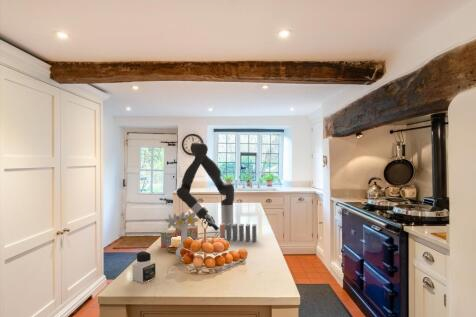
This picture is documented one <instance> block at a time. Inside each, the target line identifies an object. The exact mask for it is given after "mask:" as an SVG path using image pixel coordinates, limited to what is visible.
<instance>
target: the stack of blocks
mask: <svg viewBox="0 0 476 317" xmlns="http://www.w3.org/2000/svg"><path fill="white" fill-rule="evenodd" d="M198 230H199V228H198V225H195V226H194V227H192V226H191V224H188V226H187V237H189V236H190V237H191V238H192V239H193V240H196V239H198V238H199V237H198V236H199V234H198ZM177 236H181V230H179V228H178V226H177V227H176V228H175V229H164V230H162V231H161V232H160V248H167V249H169V248H168V247H169V246H170V245H171V238H172V237H177ZM198 240H199V239H198Z"/></svg>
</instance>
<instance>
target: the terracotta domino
mask: <svg viewBox="0 0 476 317" xmlns="http://www.w3.org/2000/svg"><path fill="white" fill-rule="evenodd" d="M220 238H225V239H226V228H225V223H222V224H219V239H220Z"/></svg>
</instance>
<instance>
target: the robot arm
mask: <svg viewBox="0 0 476 317" xmlns="http://www.w3.org/2000/svg"><path fill="white" fill-rule="evenodd" d="M208 150H209V148H208V146H207V144H205V143H204V142H199V141H198V142H195V141H194V142H193V143H191V145H190V153H191V154H192V155H193V157H194V159H193V161H192V162H191V163H190V165H189V166H188V167H187V168H186V170H185V172H184V174H183V177H182V180H181V182H182V183H181V186H180V187H179V188H177V190H176V195H177V197H178V199H180V200H181V201H182V202H183V203H185V204H186V206H187V207H189V209H190V210H191V211H192V213H195V217H196V218H197V219H199V220H201V219H202V220H203V219H206V221H207V222H208V225H207V226H208V227H212V229H214V231H217V230H220V227H219V226H218V225H217V224H216V221H215V219H214V217H213V215H210V214H208V213H209V210H208V209H207V208H206V207H205V206H204V205H203V204H202V203H200V202H199V200H198V199H197V198H196V197H195V196H193V195H192V194H191V193H190V192H191V188H192V184H193V181H194V180H195V176H196V174H197V172H198V170H199V168H200V167H201V166H202V168H203V169H204V171H205V172H206V174H207V175H208V177H209V178H210V179H211V181H212V182H213V184H214V185H215V186H214V187H216V189H217V191H218V193H219V194H220V195H222V196H225V198H224V199H222V200H221V202H220V208H221V209H220V214H221V216H220V217H221V221H220V222H221V224H222V223H225V229H226V225H227V224H228V223H231V228H233V225H234V200H235V186H234V185H233V183H225V182H224V181H223V179H222V178H221V175H222V173H221V169H220V168H219V166H218V165H217V163H216V162H215V161H214V160H212V158H210V157H209V155H207V154H208V152H209V151H208ZM206 221H203V224H205V225H206ZM221 224H220V225H221Z"/></svg>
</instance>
